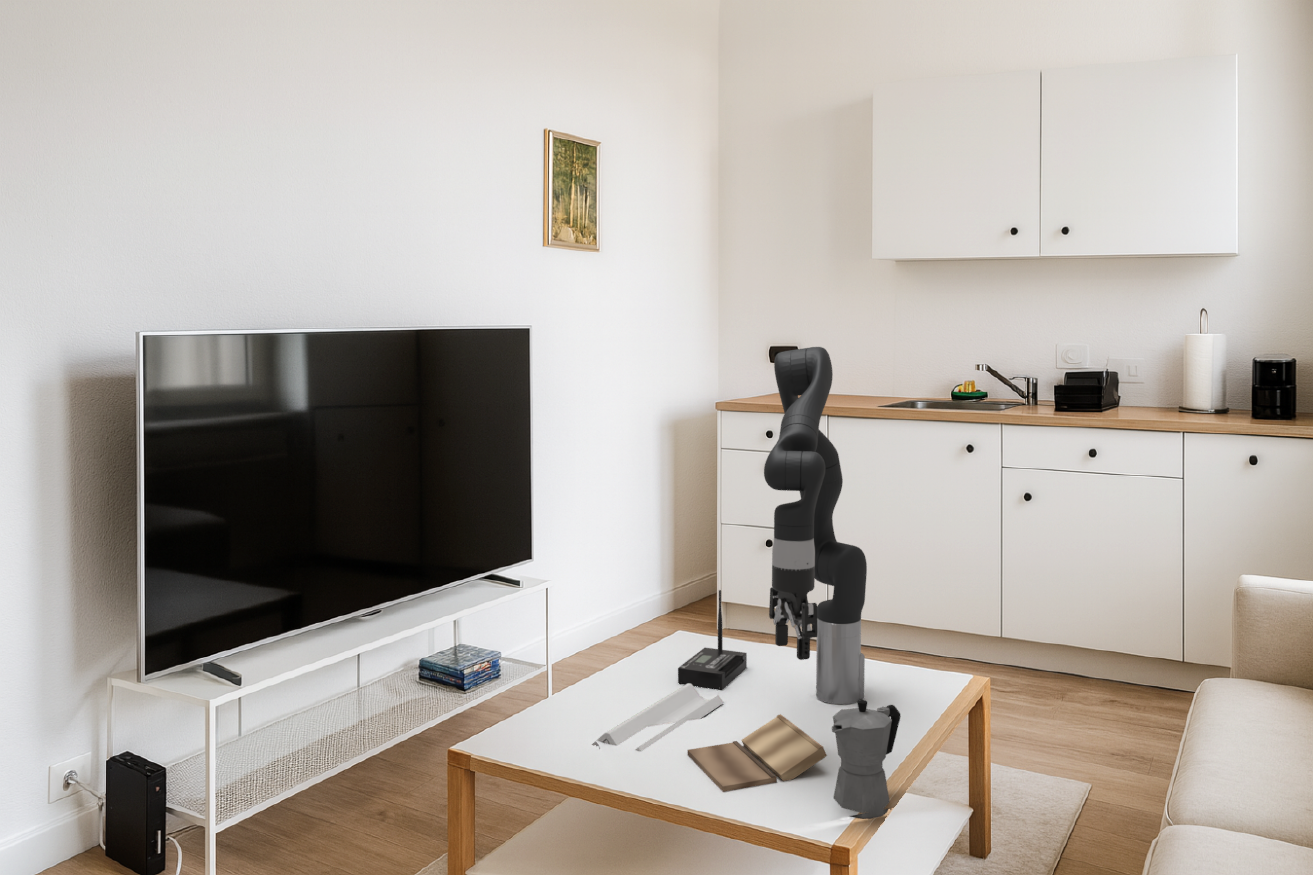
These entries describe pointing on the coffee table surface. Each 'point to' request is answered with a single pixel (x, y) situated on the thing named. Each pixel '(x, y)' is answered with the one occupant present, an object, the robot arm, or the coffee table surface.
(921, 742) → the coffee table surface
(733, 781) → the walnut board
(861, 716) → the coffeepot
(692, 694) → the crown molding
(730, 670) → the wireless controller
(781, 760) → the oak plank
